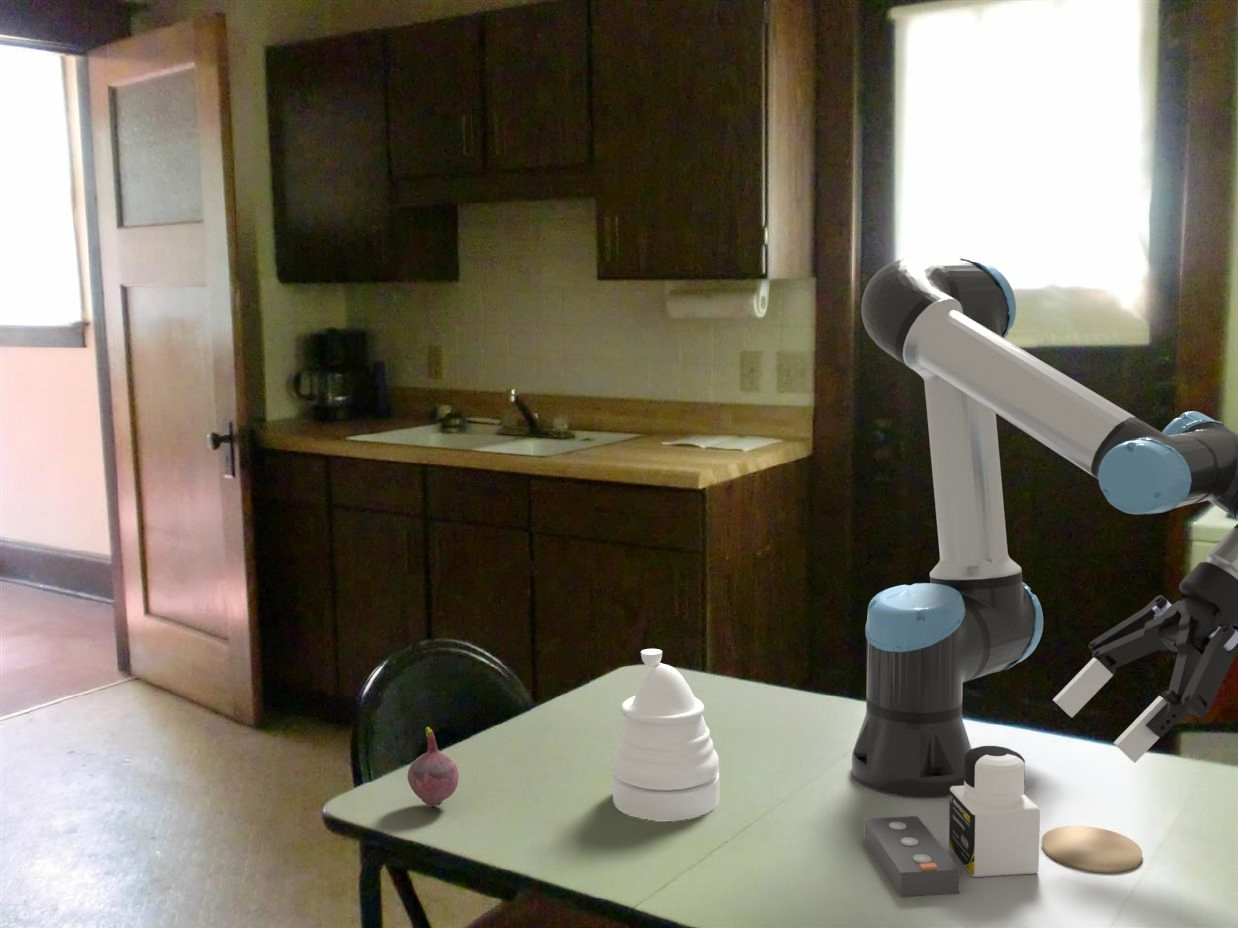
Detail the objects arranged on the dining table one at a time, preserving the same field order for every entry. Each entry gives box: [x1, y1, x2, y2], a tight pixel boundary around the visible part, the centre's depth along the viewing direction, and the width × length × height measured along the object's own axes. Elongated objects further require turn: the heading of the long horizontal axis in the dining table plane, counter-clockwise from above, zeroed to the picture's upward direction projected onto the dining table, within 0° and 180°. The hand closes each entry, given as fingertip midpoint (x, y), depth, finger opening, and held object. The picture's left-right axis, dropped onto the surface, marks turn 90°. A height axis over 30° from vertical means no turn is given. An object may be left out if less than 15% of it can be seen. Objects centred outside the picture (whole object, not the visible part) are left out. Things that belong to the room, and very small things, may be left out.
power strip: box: [863, 815, 961, 898], centre depth 126 cm, size 13×6×3 cm, turn 5°
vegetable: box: [407, 726, 459, 807], centre depth 143 cm, size 6×6×10 cm
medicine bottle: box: [948, 745, 1041, 878], centre depth 126 cm, size 7×7×12 cm
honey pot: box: [611, 648, 720, 822], centre depth 144 cm, size 13×13×18 cm
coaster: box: [1041, 825, 1143, 873], centre depth 129 cm, size 10×10×1 cm
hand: (1091, 729), depth 126 cm, fingers open, 13 cm apart
